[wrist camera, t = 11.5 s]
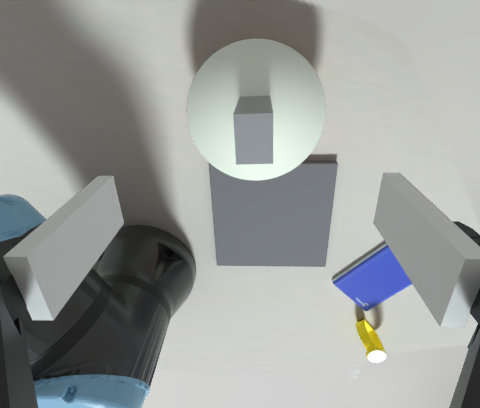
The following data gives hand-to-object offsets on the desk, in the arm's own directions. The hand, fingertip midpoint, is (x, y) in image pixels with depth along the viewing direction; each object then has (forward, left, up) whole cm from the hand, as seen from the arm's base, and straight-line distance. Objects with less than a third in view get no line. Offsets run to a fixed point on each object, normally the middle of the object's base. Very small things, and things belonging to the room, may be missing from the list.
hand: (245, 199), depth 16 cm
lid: (0, 0, -19) cm, 19 cm away
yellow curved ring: (-36, -18, -24) cm, 47 cm away
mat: (-15, -2, -24) cm, 28 cm away
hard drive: (-25, -19, -25) cm, 40 cm away
